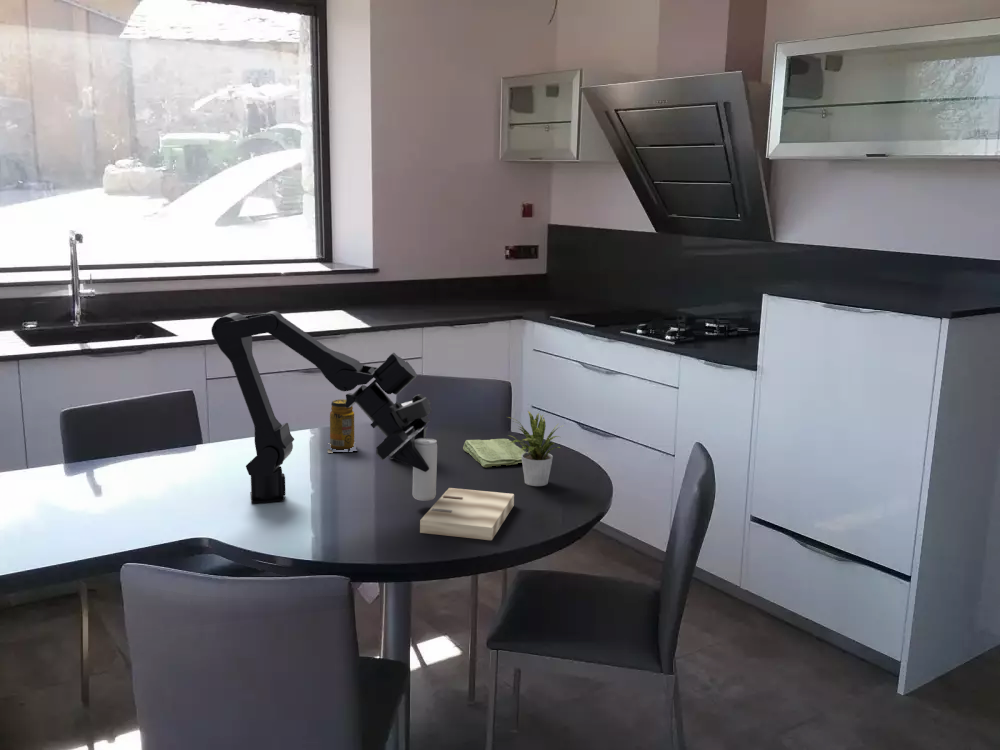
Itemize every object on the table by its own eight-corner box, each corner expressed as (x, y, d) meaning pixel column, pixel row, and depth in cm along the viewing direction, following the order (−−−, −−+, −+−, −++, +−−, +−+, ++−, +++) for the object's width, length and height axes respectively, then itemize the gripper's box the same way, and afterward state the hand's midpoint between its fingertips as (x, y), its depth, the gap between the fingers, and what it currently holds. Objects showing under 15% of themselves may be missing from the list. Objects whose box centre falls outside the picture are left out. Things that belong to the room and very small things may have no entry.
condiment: (355, 443, 230) (355, 398, 227) (357, 452, 222) (357, 405, 219) (326, 444, 228) (325, 398, 226) (327, 453, 220) (327, 406, 218)
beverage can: (423, 493, 187) (425, 436, 185) (440, 497, 184) (442, 441, 182) (407, 497, 183) (408, 440, 181) (424, 502, 180) (425, 444, 178)
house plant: (492, 474, 207) (493, 405, 203) (547, 469, 211) (549, 402, 208) (514, 493, 194) (516, 420, 190) (573, 487, 198) (575, 416, 195)
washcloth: (482, 471, 211) (482, 458, 210) (460, 450, 227) (460, 438, 226) (534, 466, 215) (534, 453, 214) (509, 447, 231) (509, 435, 231)
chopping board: (491, 540, 167) (491, 526, 167) (420, 532, 170) (420, 519, 170) (513, 505, 186) (514, 493, 186) (449, 499, 189) (449, 486, 189)
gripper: (392, 393, 171) (446, 454, 171) (421, 375, 189) (470, 431, 189) (353, 430, 174) (406, 490, 174) (386, 408, 192) (434, 463, 192)
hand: (431, 466), depth 182 cm, fingers closed on beverage can, 5 cm apart
